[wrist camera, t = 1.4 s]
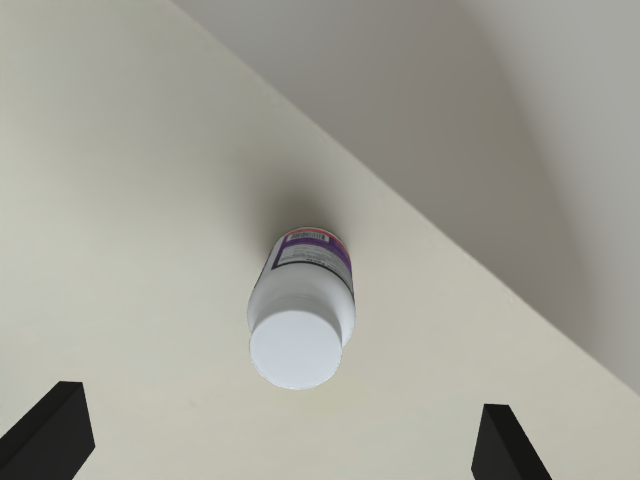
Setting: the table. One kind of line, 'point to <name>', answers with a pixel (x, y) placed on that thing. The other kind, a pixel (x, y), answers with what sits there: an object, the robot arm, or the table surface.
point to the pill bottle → (302, 309)
